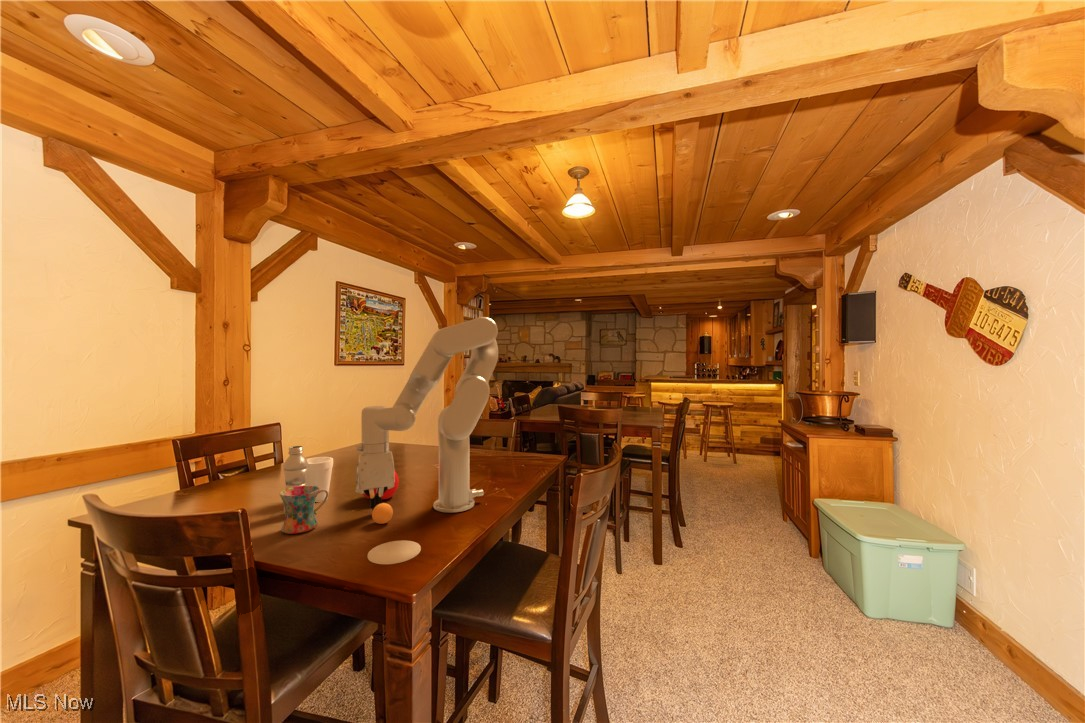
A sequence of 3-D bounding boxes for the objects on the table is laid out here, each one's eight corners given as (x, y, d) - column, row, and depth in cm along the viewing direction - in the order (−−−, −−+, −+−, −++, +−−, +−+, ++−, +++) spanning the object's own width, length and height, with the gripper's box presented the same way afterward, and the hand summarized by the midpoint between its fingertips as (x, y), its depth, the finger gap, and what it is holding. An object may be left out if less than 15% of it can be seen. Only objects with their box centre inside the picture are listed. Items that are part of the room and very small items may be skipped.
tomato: (404, 493, 142) (404, 463, 142) (386, 506, 130) (386, 472, 130) (374, 492, 144) (374, 461, 144) (353, 504, 132) (353, 471, 132)
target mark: (411, 537, 107) (411, 536, 107) (428, 554, 97) (428, 553, 97) (361, 549, 100) (361, 548, 100) (374, 569, 90) (374, 568, 90)
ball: (389, 518, 120) (389, 499, 120) (395, 524, 116) (395, 504, 116) (369, 522, 117) (369, 502, 117) (374, 528, 113) (374, 508, 113)
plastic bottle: (285, 520, 118) (285, 450, 118) (281, 513, 124) (281, 446, 124) (310, 515, 123) (310, 447, 123) (306, 508, 128) (306, 444, 128)
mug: (287, 540, 106) (287, 498, 106) (274, 530, 111) (274, 491, 111) (335, 525, 115) (335, 487, 115) (320, 517, 121) (320, 481, 121)
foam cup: (337, 499, 136) (337, 460, 136) (307, 506, 129) (307, 465, 129) (326, 493, 143) (326, 455, 143) (296, 500, 136) (296, 460, 136)
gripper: (350, 453, 115) (350, 519, 115) (404, 447, 124) (404, 508, 124) (345, 449, 122) (345, 511, 122) (397, 443, 130) (397, 501, 130)
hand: (375, 509), depth 123 cm, fingers closed
